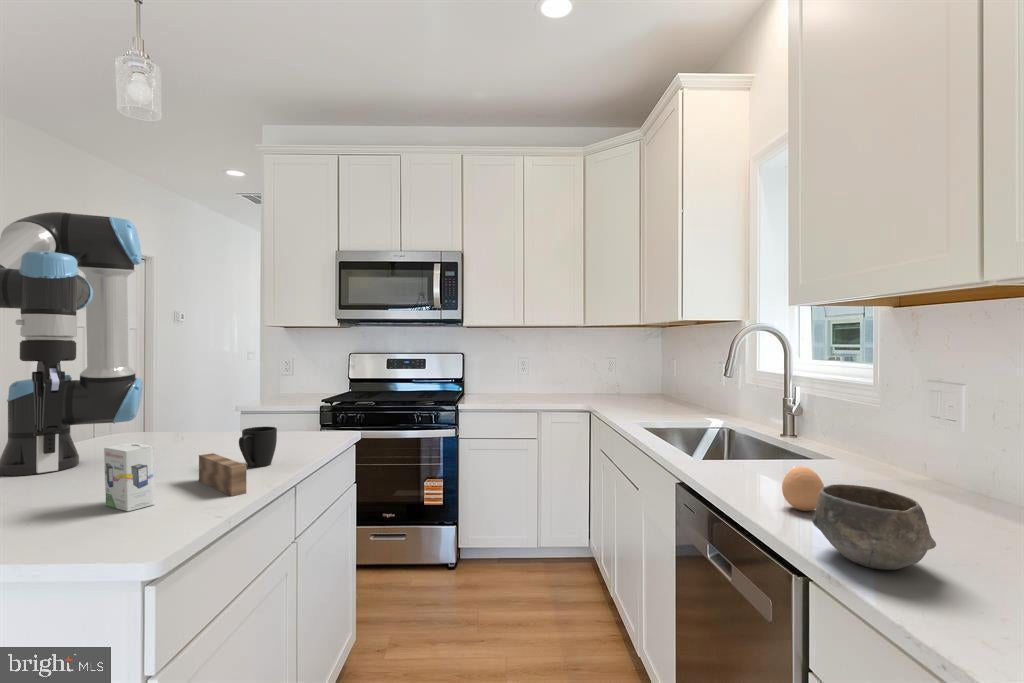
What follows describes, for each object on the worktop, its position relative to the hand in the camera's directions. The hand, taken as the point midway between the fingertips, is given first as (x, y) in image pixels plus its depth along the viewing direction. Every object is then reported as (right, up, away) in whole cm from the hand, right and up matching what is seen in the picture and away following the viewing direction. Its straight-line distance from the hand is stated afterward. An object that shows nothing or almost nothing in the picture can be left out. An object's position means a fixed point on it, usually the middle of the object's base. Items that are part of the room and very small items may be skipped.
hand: (47, 470), depth 91 cm
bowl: (+137, -10, -14) cm, 138 cm away
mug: (+16, -10, +41) cm, 45 cm away
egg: (+140, -10, +9) cm, 141 cm away
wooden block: (+18, -9, +23) cm, 31 cm away
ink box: (+7, -10, +10) cm, 15 cm away
